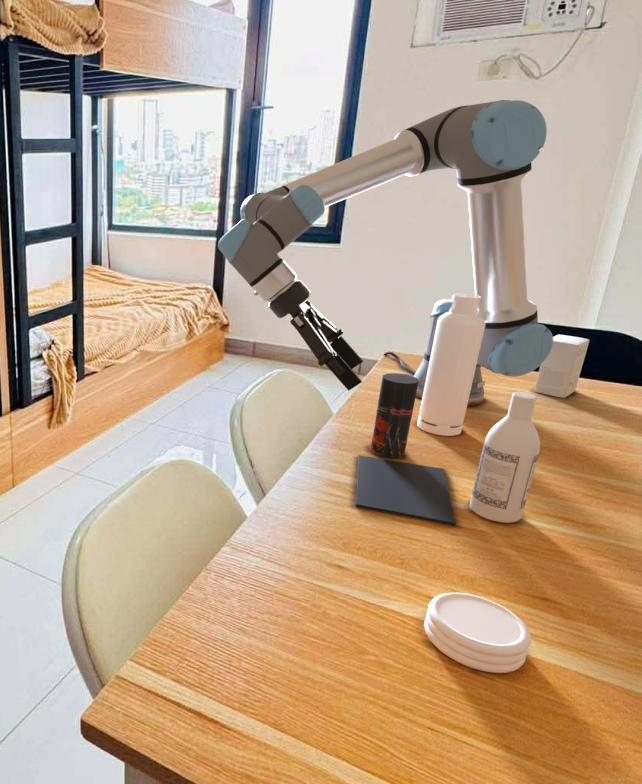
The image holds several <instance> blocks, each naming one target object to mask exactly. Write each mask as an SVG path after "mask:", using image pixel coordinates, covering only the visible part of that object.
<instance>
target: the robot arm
mask: <svg viewBox="0 0 642 784" xmlns="http://www.w3.org/2000/svg"><path fill="white" fill-rule="evenodd" d="M547 131H548V129H547V123H546V120H545V117H544V115H543V113H542V111H540V110H539V108H538V107H537V106H535V105H533V104H532V103H530V102H528V101H525V100H517V99H515V100H513V99H512V100H511V99H500V100H494V101H487V102H482V103H476V104H475V103H474V104H467V105H460V106H457V107H452V108H449V109H447V110H444V111H442V112H440V113H438V114H436V115H434V116H431V117H429V118H427V119H425V120H423V121H421V122H418V123H417V124H414V125H412V126H409V127H408V128H405V129H402V130H400V131H399V132H398V133H397V134H396V135H395V136H394V138H393V139H392V140H389V141H387V142H384V143H382V144H380V145H377V146H375V147H372V148H370V149H367V150H365V151H363V152H362V151H361V152H359V153H357V154H355V155H352V156H350V157H348V158H346V159H344V160H341V161H339V162H337V163H334V164H332V165H329V166H326V167H324V168H322V169H320V170H317V171H315V172H312V173H309V174H307V175H305V176H302V177H300V178H298V179H295V180H293V181H290V182H288V183H285V184H283V185H282V186H278V187H276V188H274V189H272V190H268V191H266V192H257V193H252V194H251V195H249V196H248V197H246V198H245V199H244V201H243V202H242V204H241V205H240V206H241V207H240V209H239V210H240V211H239V215H240V221H239V222H238V223H237V224H235V225H234V226H233V227H232V228H230V229H229V230H228V231H227V232H226V233H224V235H222V237H221V238H220V239H219V241H218V243H217V247H218V250H219V251H220V252H221V253H222V255H223V256H224V257H225V259H226V260H227V261H228V263H229V264H230V265H231V266H232V267H233V268H234V270H235V271H236V272H237V273H238V274H239V275H240V276H241V277H242V278H243V280H245V282H246V283H247V284H248V285H249V286H250V287H251V288H252V289H253V290H254V291H253V295H254V296H259V298H260V299H261V300H263V302H269V303H268V308H269V310H270V311H272V312H273V314H274V315H275V316H276V317H277V318H278V319H283V318H285V317H286V316H287V315H290V317H291V318H292V319H290V324H291V325H292V327H294V328H295V330H296V331H297V333H298V334H299V335H300V336H301V338H302V339H303V341H304V342H305V344H306V345H307V347H308V348H309V349H310V351H311V352H312V354H313V355H314V356H315V358H316V359H317V364H318V365H319V366H320V367H322V366H324V365H325V366H326V367H327V368H328V369H329V371H330V372H331V373H332V374H333V375H334V376H335V377H336V379H338V381H339V382H340V383H341V384H342V385H343V387H345V389H346V390H347V391H351V390H352V389H354V388H356V387H357V386H359V385H360V384H362V383H363V381H362V380H361V378H360V377H359V376H358V375H357V374H356V373H355V371H354V370H353V369H354V368H356V367H358V366H359V365H360V364H362V363H363V362H364V360H363V359H362V357H361V356H360V355H359V354H358V352H356V350H355V349H354V348H353V347H352V346H351V345H350V344H349V342H347V340H346V339H344V337H343V336H342V335H343V334H344V331H343V329H341V328H340V329H339V328H338V327H337V326H336V325H334V323H332V321H330V320H329V319H328V318H327V317H326V316H325V315H324V314H322V313H321V312H320V311H319V310H318V309H317V308H316V307H315V306H314V305H313V304H312V303H311V301H310V300H308V299H309V298H310V296H311V295H312V292H311V290H310V289H309V288H308V286H307V285H306V284H305V283H304V282H303V281H302V280H301V279H297V277H298V275H297V274H296V272H295V271H294V270H293V269H292V268H291V267H290V266H289V264H288V263H286V261H285V260H283V259H282V257H281V256H280V255H279V253H281V252H282V251H283V250H285V249H286V248H287V247H288V246H289V245H290V244H292V243H293V242H294V241H296V239H298V238H299V237H301V235H303V234H304V233H305V232H307V231H308V230H309V229H311V227H313V226H314V225H315V224H316V223H317V222H318V221H319V220H320V219H321V218H322V217H323V216H324V215H325V213H326V208H327V207H330V206H331V205H332V206H333V205H334V204H337V203H339V202H341V201H344V200H346V199H349V198H351V197H354V196H356V195H359V194H361V193H364V192H366V191H369V190H371V189H375V188H376V187H379V186H381V185H383V184H386V183H388V182H391V181H393V180H395V179H398V178H400V177H403V176H408V177H416V176H418V175H421V174H423V173H424V174H425V173H427V172H432V171H436V170H448V169H449V170H451V169H453V170H454V169H455V170H456V171H455V172H456V181H457V186H458V187H459V188H461V189H463V190H464V191H466V193H467V198H468V199H467V204H468V215H469V230H470V242H471V243H470V244H471V256H472V269H473V282H474V295H478V296H481V300H480V302H479V304H478V306H477V311H478V314H477V315H479V316H481V317H482V318H483V319H484V321H485V329H484V334H483V338H482V342H481V347H480V351H479V356H478V360H477V364H476V369H475V373H474V378H473V382H472V386H471V391H470V395H469V400H468V404H467V407H468V406H475V405H478V404H479V405H480V404H481V403H482V402H483V400H484V396H485V388H484V386H485V385H486V383H485V380H483V375H482V368H484V369H486V370H489V371H490V372H492V373H494V374H499V375H503V376H505V377H510V378H515V377H516V378H517V377H522V376H525V375H527V374H529V373H531V372H533V371H535V370H536V369H538V368H540V365H541V363H542V362H543V361H544V360H546V358H547V357H548V355H549V354H550V351H551V349H552V345H553V337H554V336H553V333H552V332H551V330H550V329H549V328H548V327H547V326H546V325H544V324H540V323H539V319H538V307H537V304H536V303H534V302H533V301H531V300H529V299H528V285H527V284H528V283H527V281H528V280H527V263H526V262H527V261H526V241H525V240H526V238H525V219H524V199H523V198H524V197H523V195H524V193H523V181H524V179H525V178H526V177H527V176H528V175H529V174H530V173H531V172H532V171H533V170H532V169H533V168H532V165H533V164H532V162H533V161H534V160H536V158H538V156H539V154H540V152H541V151H540V150H541V149H542V148H544V145H545V144H546V141H547V134H548V133H547ZM452 304H453V298H448V299H440V300H438V301H436V303H434V306H433V310H432V312H431V315H430V321H429V326H428V331H427V332H428V333H427V337H426V342H425V348H424V352H423V358H422V361H421V363H420V364H419V367H418V368H417V370H416V371H415V370H414V369H412V368H410V367H408V366H407V365H406V364H405V362H404V360H403V359H402V358H401V357H399V356H398V355H397V354H396V353H394V352H392V351H386V352H384V353H383V354H382V355H383V356H388V355H390V356H392V357H394V358H395V359H396V360H397V361H398V362H399V363H400V366H401V367H402V368H403V369H404V370H405V371H407V372H409V373H411V374H412V376H413V377H415V378H417V379H418V380H419V382H418V387H417V392H416V397H415V398H419V399H420V400H422V397H423V392H424V387H425V382H426V377H427V372H428V367H429V362H430V357H431V352H432V347H433V342H434V337H435V332H436V327H437V322H438V319H439V317H440V316H441V315H443V314H445V313H447V312H449V311H450V308H451V306H452ZM481 367H482V368H481Z"/></svg>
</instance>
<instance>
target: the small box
mask: <svg viewBox="0 0 642 784" xmlns="http://www.w3.org/2000/svg"><path fill="white" fill-rule="evenodd" d="M589 343H590V339H588V338H584V337H579V336H572V335H565V334H557V335H555V336H553V345H552V349H551V351H550V354H549V355H548V357H547V358H546V360H544V361H543V362H542V363H541V365H540V366H539V369H538V374H537V378H536V381H535V386H534V389H533V392H534V393H539V394H543V395H547V396H550V397H551V396H552V397H556V398H561V399H565V398H567V397H568V396H570V395H571V394H573V393H574V392H576V390H577V387H578V384H579V379H580V375H581V372H582V368H583V365H584V362H585V358H586V354H587V350H588V347H589Z"/></svg>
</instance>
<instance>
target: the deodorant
mask: <svg viewBox="0 0 642 784" xmlns="http://www.w3.org/2000/svg"><path fill="white" fill-rule="evenodd" d="M413 376H414V375H409V374H405V373H395V372H393V373H392V372H391V373H390V372H389V373H385V374H382V377H381V383H380V389H379V396H378V401H377V407H376V412H375V417H374V424H373V430H372V435H371V440H370V441H371V442H370V447H369V451H370V452H371V453H373V454H374V455H377V456H379V457H382V458H386V459H400V458H403V457H404V456H405V453H406V449H407V443H408V439H409V433H410V429H411V428H410V427H411V423H412V417H413V413H414V407H415V402H416V398H417V397H416V392H417V387H418V382H419V380H418V379H417V378H415V377H413Z"/></svg>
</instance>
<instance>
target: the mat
mask: <svg viewBox="0 0 642 784" xmlns="http://www.w3.org/2000/svg"><path fill="white" fill-rule="evenodd" d="M356 477H357V478H356V495H355V507H356V508H360V509H366V510H371V511H375V512H380V513H387V514H392V515H397V516H402V517H407V518H414V519H418V520H424V521H429V522H434V523H440V524H445V525H450V526H454V527H455V526H457V522H456V521H457V520H456V516H455V512H454V509H453V504H452V500H451V497H450V496H451V495H450V491H449V486H448V482H447V478H446V473H445V469H444V468H441V467H435V466H429V465H422V464H418V463H417V464H416V463H410V462H404V461H398V460H391V459H385V458H378V457H372V456H366V455H359V454H358V456H357V475H356Z"/></svg>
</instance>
